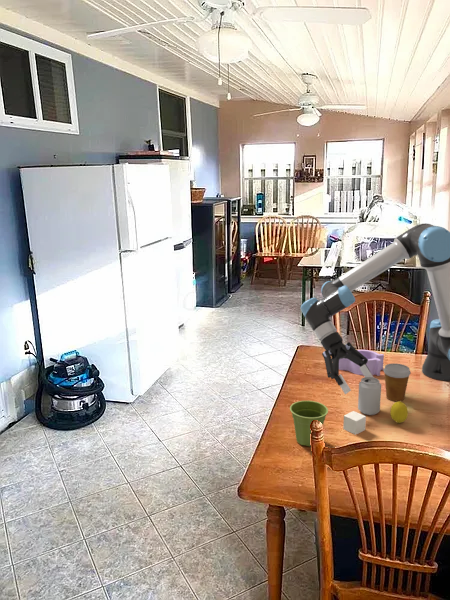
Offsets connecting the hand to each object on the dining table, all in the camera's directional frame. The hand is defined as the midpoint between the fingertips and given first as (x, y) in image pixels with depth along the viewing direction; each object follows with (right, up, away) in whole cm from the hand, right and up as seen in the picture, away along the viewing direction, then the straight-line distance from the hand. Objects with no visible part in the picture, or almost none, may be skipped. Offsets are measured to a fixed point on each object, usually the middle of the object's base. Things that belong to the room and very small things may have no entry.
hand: (360, 387), depth 176 cm
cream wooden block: (-5, -12, -12) cm, 18 cm away
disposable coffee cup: (+16, -6, +10) cm, 19 cm away
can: (+3, -9, 0) cm, 9 cm away
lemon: (+10, -11, -9) cm, 17 cm away
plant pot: (-21, -14, -18) cm, 31 cm away
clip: (+9, +1, +37) cm, 38 cm away
